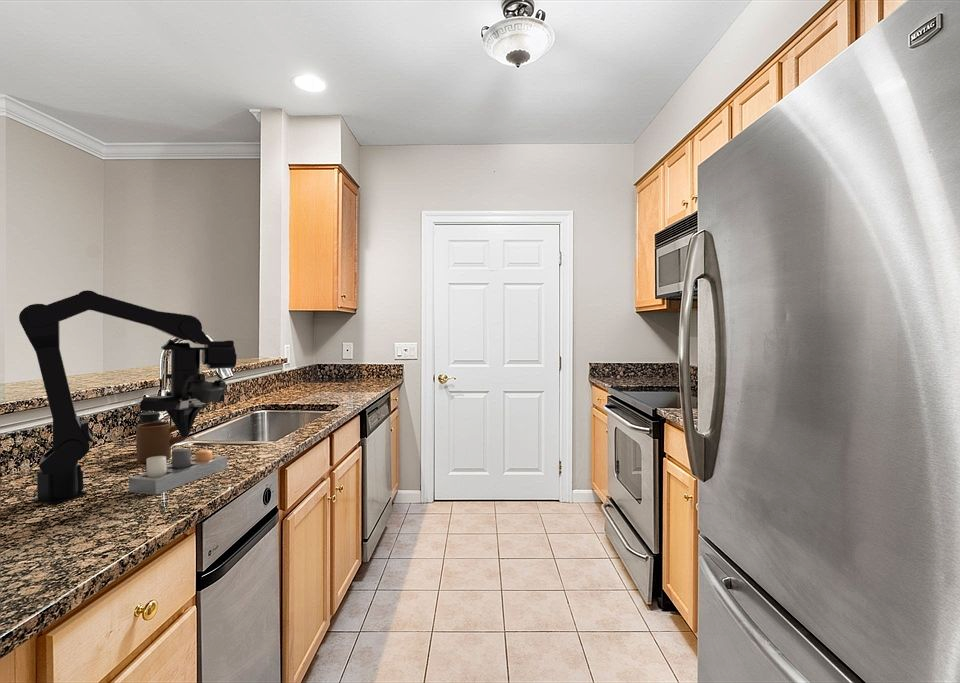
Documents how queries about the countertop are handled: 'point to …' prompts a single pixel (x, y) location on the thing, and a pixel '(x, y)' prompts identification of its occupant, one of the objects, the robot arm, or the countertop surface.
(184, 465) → the button charcoal
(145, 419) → the pill bottle
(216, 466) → the button strip
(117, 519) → the countertop surface
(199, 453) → the button orange
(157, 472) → the button ivory
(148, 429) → the mug
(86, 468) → the countertop surface
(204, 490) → the countertop surface
